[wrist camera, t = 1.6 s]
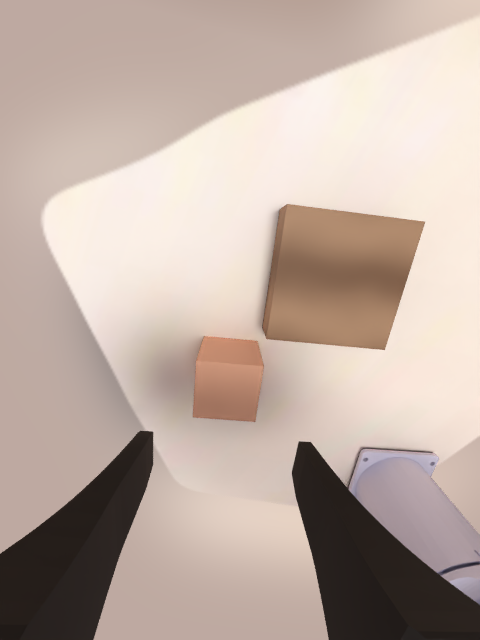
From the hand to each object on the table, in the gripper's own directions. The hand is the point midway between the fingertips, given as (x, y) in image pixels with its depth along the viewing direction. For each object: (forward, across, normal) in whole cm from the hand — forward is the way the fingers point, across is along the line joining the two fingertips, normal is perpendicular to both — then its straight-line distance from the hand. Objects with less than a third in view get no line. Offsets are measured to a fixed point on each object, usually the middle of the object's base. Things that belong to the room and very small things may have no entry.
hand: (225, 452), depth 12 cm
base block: (+9, -7, -8) cm, 14 cm away
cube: (+10, 0, 0) cm, 10 cm away
